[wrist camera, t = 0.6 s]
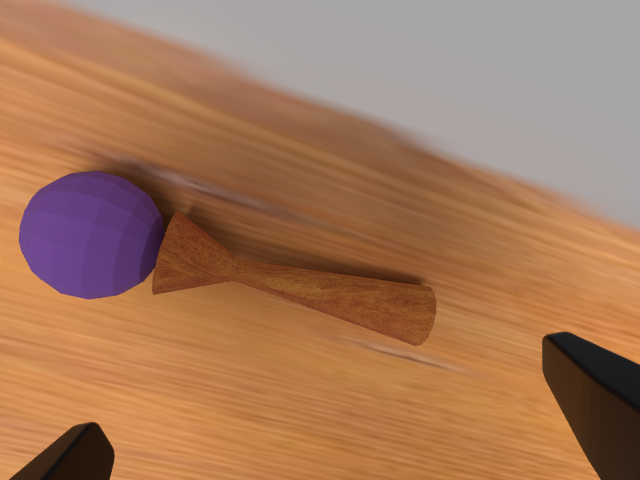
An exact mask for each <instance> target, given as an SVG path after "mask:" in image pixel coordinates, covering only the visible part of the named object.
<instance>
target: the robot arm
mask: <svg viewBox="0 0 640 480" xmlns="http://www.w3.org/2000/svg"><path fill="white" fill-rule="evenodd" d="M542 367H543V374H544V377H545V379H546V382H547V384H548V385H549V387H550V389H551V391H552V393H553V395H554V397H555V399H556V401H557V402H558V404H559V406H560V408H561V410H562V412H563V414H564V416H565V418H566V420H567V421H568V423H569V425H570V427H571V429H572V431H573V433H574V435H575V437H576V438H577V440H578V442H579V444H580V446H581V448H582V450H583V451H584V453H585V455H586V457H587V458H588V460H589V462H590V463H591V465H592V466H593V468H594V470H595V471H596V473H597V474H598V476H599V477H600V479H601V480H640V364H637V363H635V362H633V361H631V360H629V359H626V358H624V357H622V356H620V355H618V354H616V353H613V352H611V351H609V350H607V349H605V348H602V347H600V346H598V345H596V344H594V343H592V342H589V341H587V340H585V339H583V338H581V337H578V336H576V335H574V334H572V333H569V332H558V333H552V334H547V335H545V336H544V337H543V341H542ZM114 457H115V455H114V449H113V447H112V445H111V444H110V442H109V440H108V439H107V437H106V435H105V434H104V432H103V430H102V429H101V427H100V426H99V425H98V424H97V423H95V422H89V423H83V424H78V425H75V426H73V427H72V428H70V429H69V430H68V431H67V432H65V433H64V434H63V435H62V436H61V437H59V438H58V439H57V440H56V441H55V442H53V443H52V444H51V445H50V446H49V447H47V448H46V449H45V450H44V451H43V452H41V453H40V454H39V455H38V456H37V457H35V458H34V459H33V460H32V461H31V462H29V463H28V464H27V465H26V466H25V467H23V468H22V469H21V470H20V471H19V472H17V473H16V474H15V475H14V476H13V477H11V478H10V479H9V480H110V476H111V472H112V468H113V464H114Z"/></svg>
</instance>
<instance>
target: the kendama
mask: <svg viewBox="0 0 640 480" xmlns="http://www.w3.org/2000/svg"><path fill="white" fill-rule="evenodd" d="M19 243H20V247H21V251H22V253H23V255H24V257H25V259H26V261H27V263H28V265H29V267H30V269H31V271H32V272H33V273H34V274H35V275H37V276H38V277H39V278H40V279H41V280H43V281H44V282H46V283H47V284H48V285H50V286H51V287H53V288H54V289H56V290H57V291H58V292H60V293H61V294H66V295H71V296H75V297H80V298H84V299H95V298H102V297H109V296H116V295H119V294H121V293H123V292H125V291H127V290H129V289H131V288H132V287H134V286H136V285H138V284H140V283H141V282H143V281H144V280H145V279H146V278H147V276H148V275H149V274H150V273H151V271H152V270H153V269H154V267H155V271H154V276H153V284H152V291H153V295H155V294H160V293H166V292H172V291H177V290H183V289H188V288H194V287H200V286H205V285H211V284H216V283H222V282H228V281H233V280H235V281H237V282H240V283H243V284H246V285H248V286H251V287H254V288H257V289H260V290H262V291H265V292H268V293H271V294H273V295H276V296H279V297H282V298H284V299H287V300H290V301H293V302H295V303H298V304H301V305H304V306H307V307H309V308H312V309H315V310H318V311H320V312H323V313H326V314H329V315H331V316H334V317H337V318H340V319H342V320H345V321H348V322H351V323H353V324H356V325H359V326H362V327H365V328H367V329H370V330H373V331H376V332H378V333H381V334H384V335H387V336H389V337H392V338H395V339H398V340H400V341H403V342H406V343H409V344H412V345H414V346H418V345H421V344H422V343H423V342H424V341H425V340H426V339H427V338H428V336H429V334H430V332H431V329H432V327H433V323H434V319H435V315H436V300H435V295H434V292H433V291H432V289H431V288H430V287H427V286H421V285H414V284H407V283H400V282H393V281H386V280H379V279H372V278H365V277H358V276H351V275H344V274H337V273H330V272H323V271H316V270H309V269H302V268H295V267H288V266H281V265H274V264H267V263H260V262H253V261H246V260H240V259H238V258H237V257H236V256H235V255H233V254H232V253H231V252H229V251H228V250H227V249H226V248H224V247H223V246H222V245H221V244H219V243H218V242H217V241H215V240H214V239H213V238H212V237H210V236H209V235H208V234H206V233H205V232H204V231H203V230H201V229H200V228H199V227H198V226H196V225H195V224H194V223H192V222H191V221H190V220H189V219H187V218H186V217H185V216H184V215H182V214H181V213H180V212H178V211H177V212H176V213H175V214H174V216H173V217H172V219H171V221H170V223H169V225H168V228H167V230H166V233H165V235H164V226H163V218H162V215H161V213H160V212H159V210H158V208H157V207H156V205H155V203H154V202H153V200H152V198H151V197H150V196H149V195H148V194H146V193H145V192H144V191H142V190H141V189H140V188H138V187H137V186H136V185H134V184H133V183H131V182H130V181H128V180H127V179H125V178H122V177H119V176H115V175H111V174H108V173H104V172H101V171H90V172H80V173H71V174H68V175H66V176H64V177H61V178H59V179H58V180H56V181H54V182H52V183H50V184H49V185H47V186H45V187H43V188H41V189H40V190H39V191H38V192H37V193H36V194H35V195H34V196H33V197H32V199H31V200H30V202H29V204H28V206H27V208H26V210H25V211H24V215H23V218H22V221H21V224H20V232H19Z"/></svg>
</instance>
